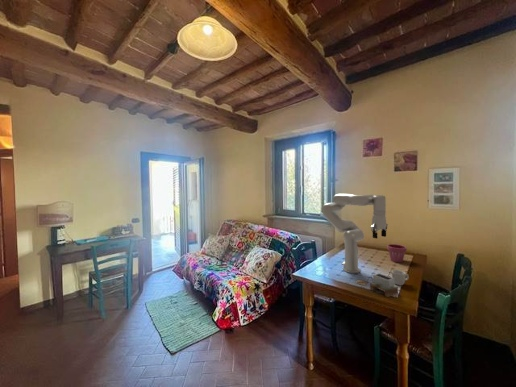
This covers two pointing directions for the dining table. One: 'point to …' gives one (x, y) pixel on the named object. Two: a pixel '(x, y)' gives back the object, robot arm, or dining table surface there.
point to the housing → (383, 280)
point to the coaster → (361, 282)
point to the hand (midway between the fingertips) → (379, 237)
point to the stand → (384, 289)
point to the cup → (399, 277)
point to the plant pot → (396, 252)
